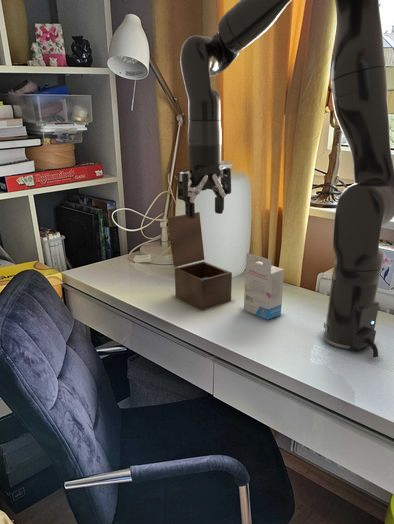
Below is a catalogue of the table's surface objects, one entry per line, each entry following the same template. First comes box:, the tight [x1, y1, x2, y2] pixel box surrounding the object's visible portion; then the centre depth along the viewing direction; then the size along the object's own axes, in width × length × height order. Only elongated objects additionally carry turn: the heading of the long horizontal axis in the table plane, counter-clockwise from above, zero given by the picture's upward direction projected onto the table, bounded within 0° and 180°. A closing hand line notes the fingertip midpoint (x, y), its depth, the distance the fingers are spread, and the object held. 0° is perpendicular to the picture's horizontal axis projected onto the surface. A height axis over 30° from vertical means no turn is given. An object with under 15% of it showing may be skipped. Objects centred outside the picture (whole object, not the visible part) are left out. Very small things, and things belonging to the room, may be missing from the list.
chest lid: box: [167, 211, 205, 268], centre depth 124 cm, size 12×10×1 cm
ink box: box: [243, 252, 285, 321], centre depth 114 cm, size 8×5×15 cm, turn 39°
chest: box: [174, 260, 233, 311], centre depth 124 cm, size 12×10×8 cm
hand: (205, 215), depth 115 cm, fingers open, 8 cm apart
